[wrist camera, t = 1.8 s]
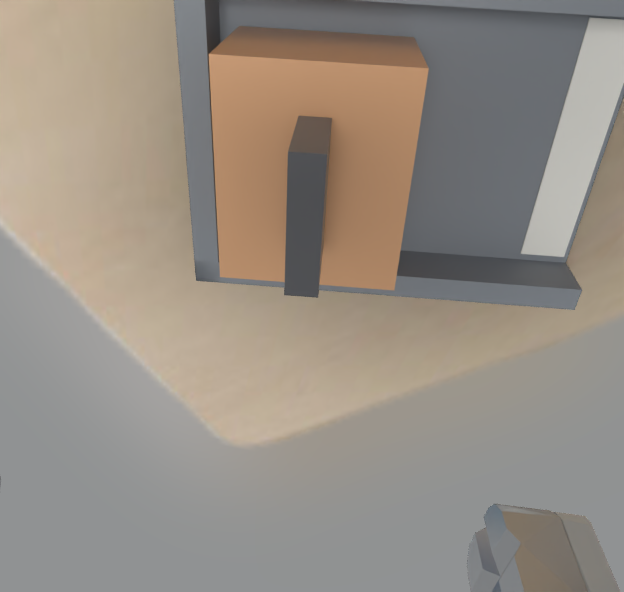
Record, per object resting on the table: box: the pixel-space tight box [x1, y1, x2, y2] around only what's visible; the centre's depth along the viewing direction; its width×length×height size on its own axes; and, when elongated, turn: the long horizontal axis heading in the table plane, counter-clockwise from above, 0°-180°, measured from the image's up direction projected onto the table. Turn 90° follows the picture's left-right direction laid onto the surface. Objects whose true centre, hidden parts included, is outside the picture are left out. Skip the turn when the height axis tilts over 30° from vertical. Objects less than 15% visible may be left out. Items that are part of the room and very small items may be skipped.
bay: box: [174, 0, 624, 310], centre depth 35 cm, size 26×19×4 cm
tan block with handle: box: [209, 26, 429, 298], centre depth 30 cm, size 10×12×13 cm
